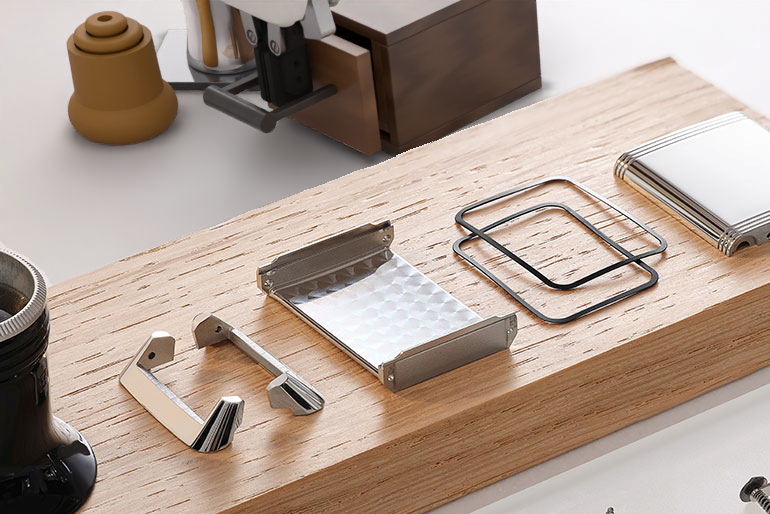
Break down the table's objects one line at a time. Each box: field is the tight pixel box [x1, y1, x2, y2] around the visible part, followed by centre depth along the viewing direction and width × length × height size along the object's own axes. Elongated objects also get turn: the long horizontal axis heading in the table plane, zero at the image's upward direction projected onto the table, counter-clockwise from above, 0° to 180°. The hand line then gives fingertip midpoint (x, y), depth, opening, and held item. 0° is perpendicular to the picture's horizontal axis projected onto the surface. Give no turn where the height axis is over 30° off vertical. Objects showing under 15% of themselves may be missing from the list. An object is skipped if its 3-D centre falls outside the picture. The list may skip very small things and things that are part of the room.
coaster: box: [156, 29, 260, 91], centre depth 155 cm, size 11×8×1 cm
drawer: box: [202, 23, 390, 156], centre depth 144 cm, size 19×11×7 cm, turn 140°
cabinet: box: [330, 0, 543, 157], centre depth 148 cm, size 14×12×9 cm
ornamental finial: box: [66, 10, 179, 146], centre depth 145 cm, size 8×8×8 cm
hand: (288, 96), depth 142 cm, fingers closed
